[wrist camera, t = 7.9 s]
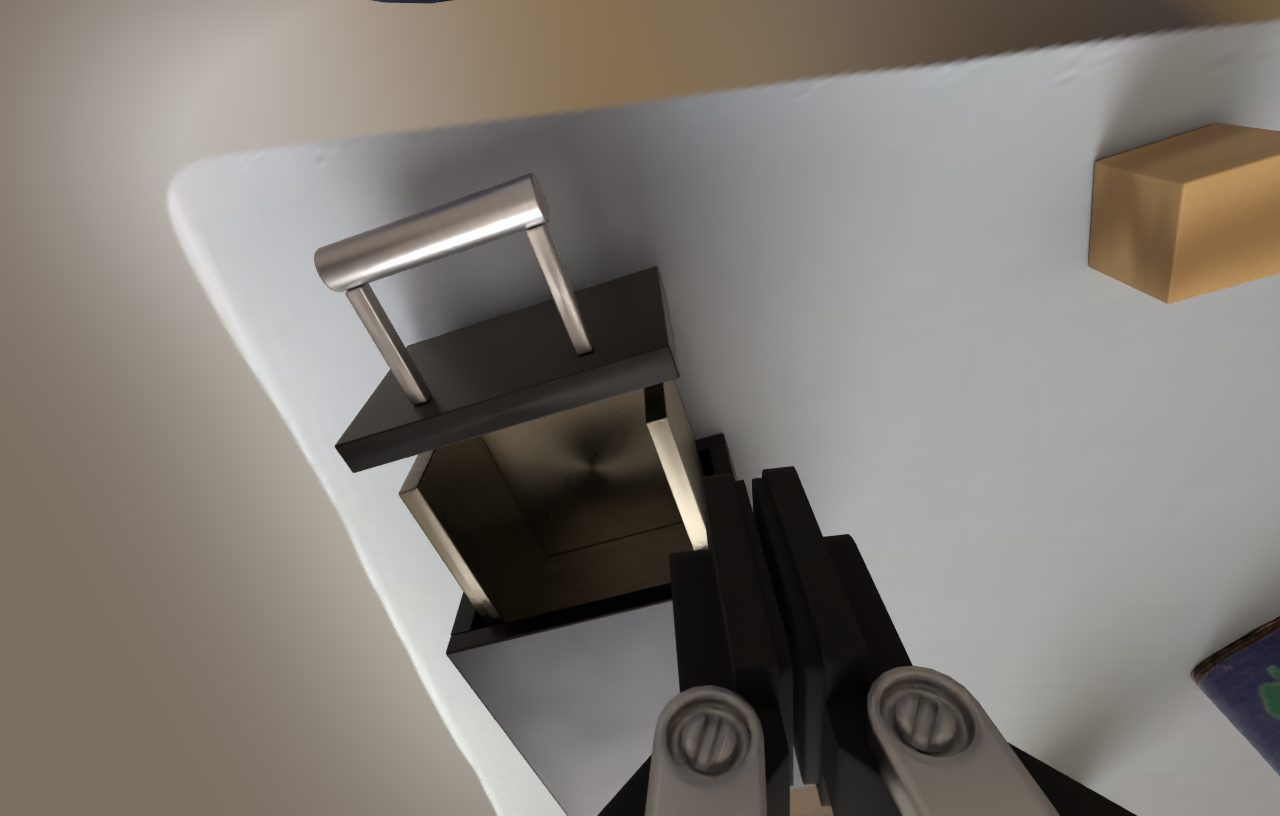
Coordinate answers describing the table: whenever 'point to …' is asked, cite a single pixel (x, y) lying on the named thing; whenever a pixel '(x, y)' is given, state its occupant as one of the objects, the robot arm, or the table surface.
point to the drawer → (529, 418)
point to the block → (1189, 212)
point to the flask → (1249, 688)
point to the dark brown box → (582, 680)
